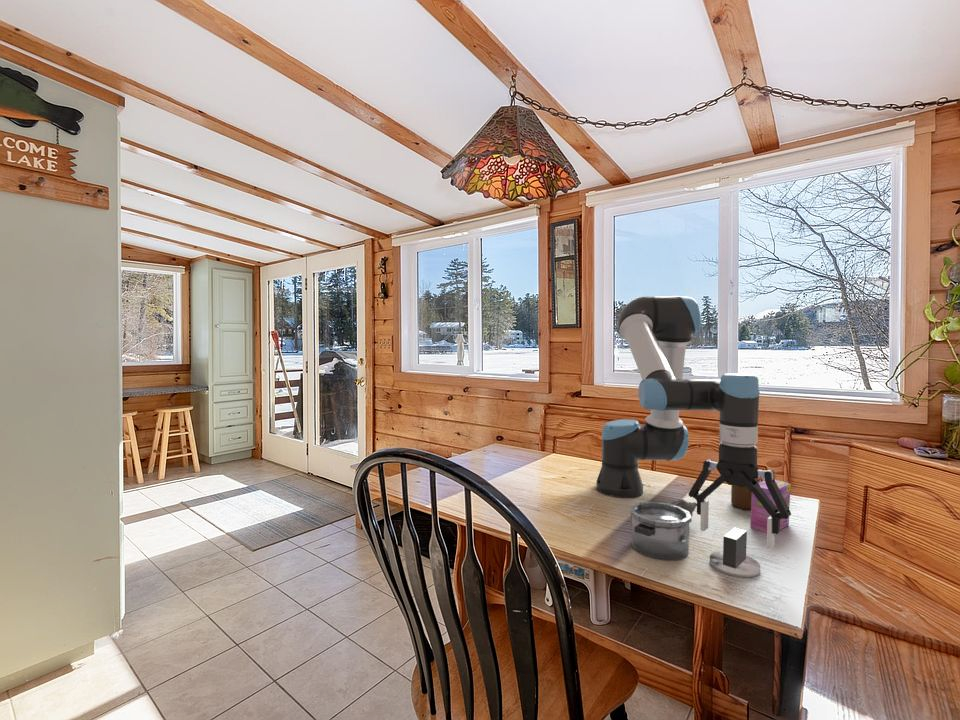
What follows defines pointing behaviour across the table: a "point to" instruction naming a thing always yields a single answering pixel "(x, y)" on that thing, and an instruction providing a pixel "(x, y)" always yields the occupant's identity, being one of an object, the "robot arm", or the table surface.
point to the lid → (735, 556)
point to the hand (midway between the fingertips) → (735, 538)
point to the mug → (742, 496)
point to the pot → (660, 530)
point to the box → (760, 513)
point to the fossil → (684, 505)
